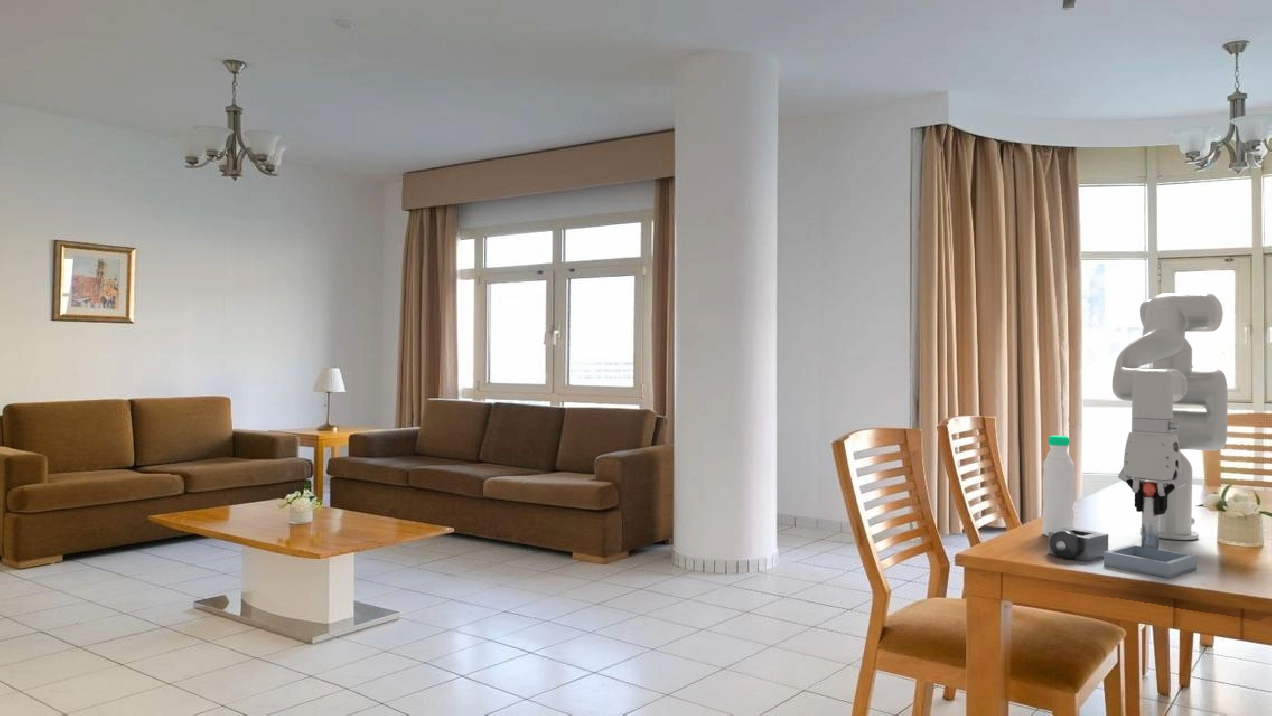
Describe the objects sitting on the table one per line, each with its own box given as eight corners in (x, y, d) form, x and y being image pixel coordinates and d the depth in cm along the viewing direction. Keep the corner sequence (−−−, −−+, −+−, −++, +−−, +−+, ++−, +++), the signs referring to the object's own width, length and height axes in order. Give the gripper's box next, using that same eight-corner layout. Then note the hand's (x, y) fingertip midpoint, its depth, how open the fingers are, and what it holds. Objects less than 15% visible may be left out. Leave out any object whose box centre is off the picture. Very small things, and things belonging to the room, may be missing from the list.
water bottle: (1076, 539, 220) (1078, 437, 220) (1046, 537, 221) (1047, 437, 221) (1068, 533, 227) (1070, 435, 226) (1039, 532, 228) (1040, 434, 228)
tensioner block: (1068, 548, 209) (1069, 523, 209) (1108, 556, 202) (1108, 529, 202) (1040, 555, 202) (1041, 528, 202) (1080, 563, 194) (1080, 535, 194)
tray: (1132, 557, 200) (1133, 544, 200) (1196, 569, 190) (1196, 555, 190) (1104, 565, 193) (1104, 551, 192) (1168, 578, 182) (1168, 563, 182)
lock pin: (1145, 545, 193) (1146, 481, 193) (1161, 548, 191) (1162, 482, 190) (1138, 547, 191) (1139, 482, 191) (1154, 550, 189) (1155, 484, 189)
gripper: (1201, 429, 186) (1200, 516, 187) (1120, 423, 200) (1119, 505, 200) (1186, 430, 182) (1184, 520, 182) (1104, 424, 195) (1103, 508, 195)
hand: (1150, 511), depth 191 cm, fingers closed on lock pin, 3 cm apart
